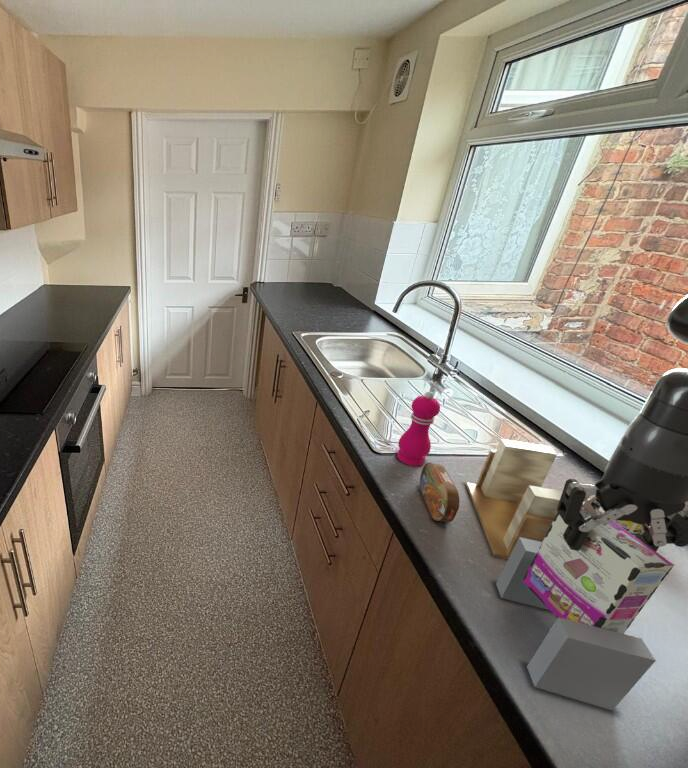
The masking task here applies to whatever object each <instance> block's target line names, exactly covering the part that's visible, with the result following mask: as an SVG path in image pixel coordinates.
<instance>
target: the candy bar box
mask: <svg viewBox="0 0 688 768" xmlns="http://www.w3.org/2000/svg"><path fill="white" fill-rule="evenodd" d="M583 506H584V505H582V507H581V508H583ZM600 512H601V513H603V512H602V511H600ZM590 517H591V516H589V517H587V518H585V520H586V519H588V518H590ZM567 527H568V525H567V524H565V523H564V521H563V519H562V518H561V516H560V515H559V513H557V514H556V516H555V519H554V520H553V522H552V525H551V526H550V528H549V530H548V532H547V534H546V536H545V538H544V540H543V542H542V544H541V546H540V548H539V550H538V552H537V554H536V556H535V557H534V559H533V561H532V563H531V565H530V567H529V569H528V571H527V573H526V575H525V577H524V579H523V582H524V583H525V585H526V586H527V587H528V588H529V589H530V590H531V591H532V592H533V593H534V594H535V595H536V596H537V597H538V598H539V599H540V600H541V602H542V603H543V604H544V605H545V606H546V607H547V608H548V609H549V610H548V611H550V612H551V613H552V615H553V616H554V617H555V618H556V619H557V618H558V617H559V618H563V619H567V620H571V621H575V622H579V623H583V624H587V625H591V626H594V627H598V628H602V629H606V630H610V631H614V632H618V633H622V634H625V633H626V631H627V630H628V629H629V628H630V626H631V625H632V624H633V622H634V621H635V619H636V617H637V616H638V615H639V614H640V612H641V611H642V610H643V608H644V607H645V605H646V604H647V603H648V601H650V599H651V597H652V596H653V595H654V594H655V592H656V590H658V588H659V586H660V585H661V584H662V583H663V581H664V580H665V578H666V577H667V576H668V574H669V573H670V571H671V570H672V568H674V566H675V564H674V563H673V562H671V561H670V560H668V559H667V558H665V557H664V556H663V555H661V554H660V553H658V552H657V551H654V550H653V549H651V548H650V547H649V546H647V545H646V544H645V543H643V542H642V541H640V540H639V539H638V538H636V535H634V534H633V533H629V532H628V531H627V530H625V529H624V528H622V527H621V526H620V525H618V524H617V523H616V522H614V521H612V522H611V523H609V524H607V525H598V526H597V527H595V528H593V529H591V530H589V531H588V532H589V534H588V536H587V538H586V540H585V541H584V543H583V545H582V546H581V548H580V550H579V551H576V550H571V549H570V547H569V546H568V545H567V543H566V541H565V540H564V538H563V534H564V532H565V530H566V528H567Z"/></svg>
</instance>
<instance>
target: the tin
mask: <svg viewBox="0 0 688 768" xmlns="http://www.w3.org/2000/svg"><path fill="white" fill-rule="evenodd" d="M419 490H420V492H421V494H422V497H423V499H424V502H425V504H426V506H427V509H428V511H429V514H430V516H431V518H432V519H433V520H435V521H437V522H445V523H450V522H453V521H454V519H455V518H456V516H457V513H458V512H459V509H460V496H459V490H458V489H457V487H456V485H455V483H454V482H453V479H452V478H451V476H450V475H449V472H448V471H447V469H446V468H445V466H443V465H442V464H439V463H433V462H427V463H424V466H423V467H422V469H421V472H420V477H419Z"/></svg>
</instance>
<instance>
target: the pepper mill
mask: <svg viewBox="0 0 688 768" xmlns="http://www.w3.org/2000/svg"><path fill="white" fill-rule="evenodd" d="M411 410H412V411H411V415H410V419H411V424H410V426H409V427H408V429H406V431H404V433H403V434H402V435H401V436H400V438H399V439H398V443H397V444H398V451H397V455H396V457H397V459H398V460H399V461H400V462H402V463H403V464H404V465H405V464H406V465H408V466H412V467H420V466H423V465H425V461H426V456H427V455H428V454H430V452H431V447H432V446H431V444H432V443H431V439H430V434H429V429H430V426H431V425H433V424H434V422H435V417H436V416H437V415H439V413H440V411H441V404H440V402H439V401H438V400H437V399H436V398H434V393H433V392H432V391H426V392H425V394H424V395H420V396H416V398H414V399H413V400H412V403H411Z"/></svg>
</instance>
